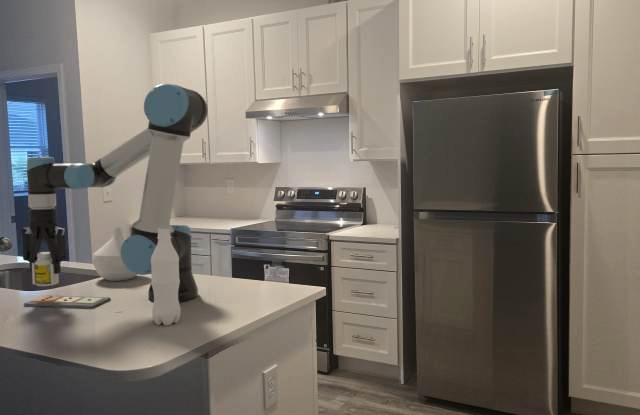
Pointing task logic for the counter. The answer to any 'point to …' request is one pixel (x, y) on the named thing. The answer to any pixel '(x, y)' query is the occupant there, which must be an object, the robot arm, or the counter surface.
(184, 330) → the counter surface
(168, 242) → the water bottle
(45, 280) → the supplement bottle
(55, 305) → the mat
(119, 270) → the vase
